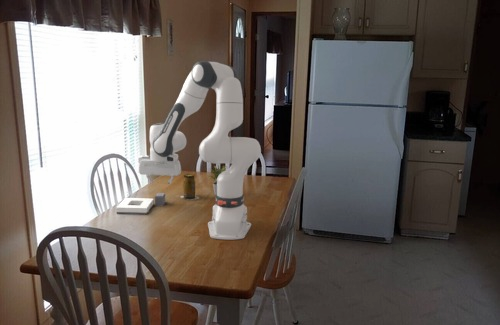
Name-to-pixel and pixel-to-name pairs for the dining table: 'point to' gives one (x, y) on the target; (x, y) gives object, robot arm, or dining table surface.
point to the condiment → (189, 187)
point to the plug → (160, 199)
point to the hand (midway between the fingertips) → (160, 183)
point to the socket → (135, 206)
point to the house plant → (216, 173)
